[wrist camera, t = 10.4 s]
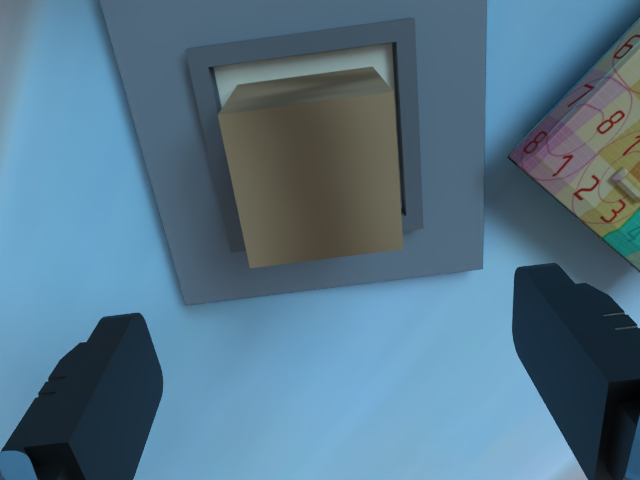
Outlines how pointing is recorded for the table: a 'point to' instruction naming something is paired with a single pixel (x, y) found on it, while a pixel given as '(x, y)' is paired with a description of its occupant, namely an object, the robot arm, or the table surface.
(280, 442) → the table surface
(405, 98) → the slate gray baseplate
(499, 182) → the table surface
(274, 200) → the walnut block
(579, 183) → the puzzle game
